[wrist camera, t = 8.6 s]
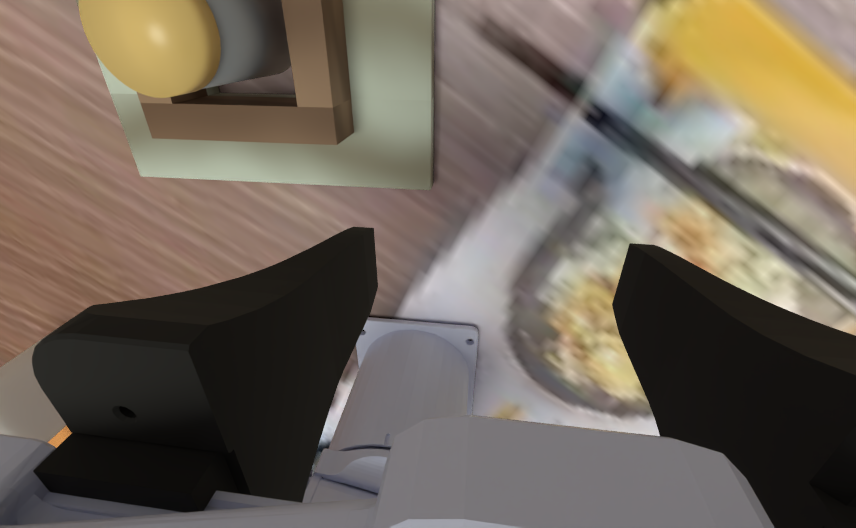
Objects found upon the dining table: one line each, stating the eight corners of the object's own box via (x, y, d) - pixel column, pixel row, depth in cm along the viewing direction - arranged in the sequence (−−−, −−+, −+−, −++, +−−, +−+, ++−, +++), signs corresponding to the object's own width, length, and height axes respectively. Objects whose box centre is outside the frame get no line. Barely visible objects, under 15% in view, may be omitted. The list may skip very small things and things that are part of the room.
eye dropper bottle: (67, 364, 33) (-126, 515, 22) (61, 315, 30) (-164, 464, 20) (119, 383, 33) (-47, 541, 23) (118, 337, 30) (-73, 494, 20)
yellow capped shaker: (302, 81, 19) (208, 105, 13) (229, 70, 19) (100, 89, 13) (298, -12, 17) (186, -38, 11) (217, -23, 18) (60, -54, 11)
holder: (432, 183, 21) (423, 209, 18) (153, 170, 23) (102, 191, 20) (436, -206, 14) (421, -272, 11) (31, -180, 16) (-77, -230, 13)
